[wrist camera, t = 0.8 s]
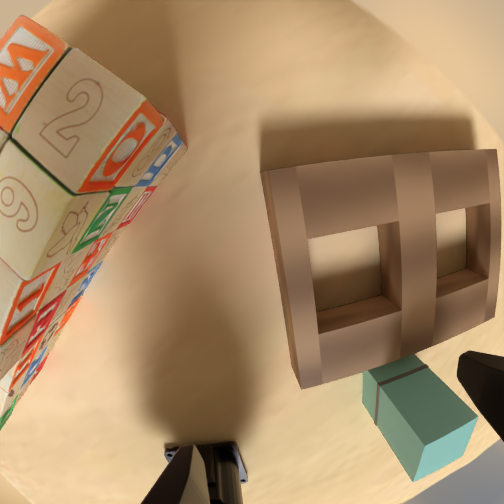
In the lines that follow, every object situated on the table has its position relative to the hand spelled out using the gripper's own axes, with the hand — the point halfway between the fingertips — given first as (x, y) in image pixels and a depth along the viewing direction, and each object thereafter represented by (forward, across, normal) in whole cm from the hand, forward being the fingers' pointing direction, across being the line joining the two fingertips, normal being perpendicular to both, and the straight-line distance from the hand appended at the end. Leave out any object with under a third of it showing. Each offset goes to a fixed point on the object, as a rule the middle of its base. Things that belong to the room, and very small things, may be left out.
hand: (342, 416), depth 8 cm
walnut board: (+13, -10, 0) cm, 16 cm away
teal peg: (+13, -8, +11) cm, 19 cm away
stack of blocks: (+13, +13, -6) cm, 20 cm away
